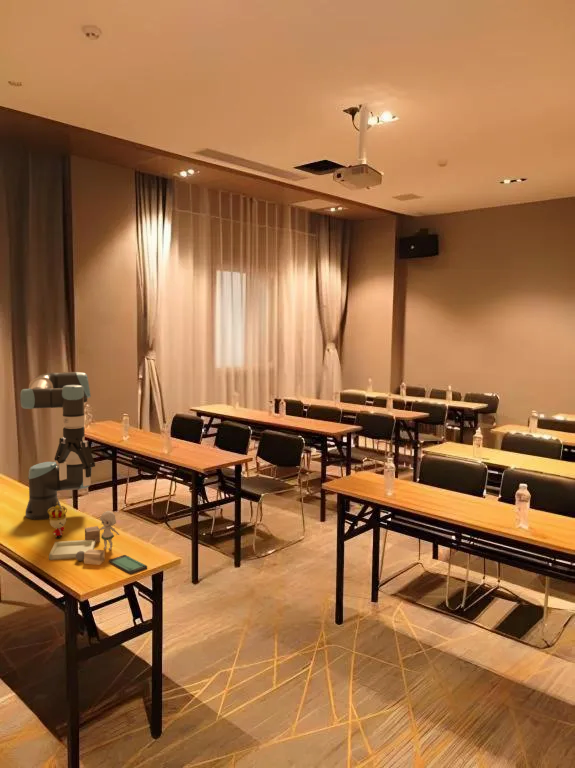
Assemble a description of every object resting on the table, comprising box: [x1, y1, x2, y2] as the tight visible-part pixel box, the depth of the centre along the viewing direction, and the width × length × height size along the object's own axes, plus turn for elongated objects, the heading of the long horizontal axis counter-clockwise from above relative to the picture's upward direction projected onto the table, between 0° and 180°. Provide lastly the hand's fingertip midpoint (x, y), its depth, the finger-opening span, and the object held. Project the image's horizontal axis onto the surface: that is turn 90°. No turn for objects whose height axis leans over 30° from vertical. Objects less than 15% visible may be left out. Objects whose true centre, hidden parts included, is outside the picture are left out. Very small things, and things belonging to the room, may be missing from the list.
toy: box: [48, 501, 68, 539], centre depth 232 cm, size 7×7×15 cm
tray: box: [48, 539, 96, 561], centre depth 219 cm, size 13×15×2 cm
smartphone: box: [108, 554, 148, 575], centre depth 208 cm, size 7×1×15 cm
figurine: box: [98, 510, 120, 551], centre depth 222 cm, size 10×6×15 cm, turn 70°
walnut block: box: [84, 525, 101, 544], centre depth 230 cm, size 5×5×5 cm
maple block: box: [83, 548, 106, 566], centre depth 210 cm, size 4×6×4 cm, turn 83°
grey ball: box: [75, 551, 85, 562], centre depth 211 cm, size 4×4×4 cm
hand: (74, 482), depth 215 cm, fingers open, 13 cm apart
